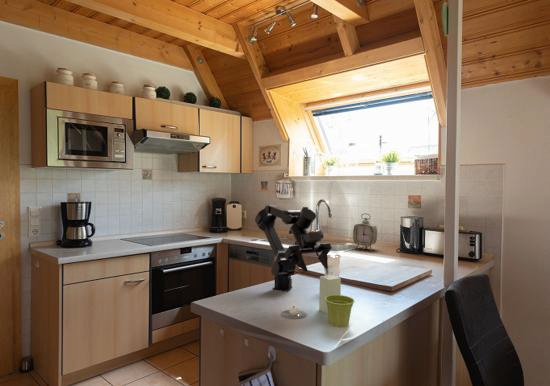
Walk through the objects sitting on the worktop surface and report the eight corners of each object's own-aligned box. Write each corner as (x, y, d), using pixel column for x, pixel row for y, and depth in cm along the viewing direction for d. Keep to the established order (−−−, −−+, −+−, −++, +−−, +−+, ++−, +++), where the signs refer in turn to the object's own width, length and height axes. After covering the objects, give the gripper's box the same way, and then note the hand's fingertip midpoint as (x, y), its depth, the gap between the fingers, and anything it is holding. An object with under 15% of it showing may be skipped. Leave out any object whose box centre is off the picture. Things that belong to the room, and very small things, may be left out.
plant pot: (351, 320, 127) (351, 295, 126) (356, 332, 117) (356, 304, 117) (323, 319, 127) (323, 294, 127) (325, 331, 118) (326, 303, 117)
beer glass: (327, 287, 167) (328, 253, 166) (342, 289, 163) (343, 255, 163) (320, 290, 161) (321, 255, 160) (336, 293, 157) (337, 257, 157)
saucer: (276, 318, 127) (276, 316, 127) (287, 310, 135) (287, 308, 135) (300, 323, 123) (300, 321, 123) (310, 315, 131) (310, 312, 131)
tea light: (287, 314, 129) (288, 306, 129) (291, 312, 131) (291, 304, 131) (295, 316, 127) (296, 308, 127) (299, 313, 130) (299, 305, 130)
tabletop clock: (352, 248, 263) (353, 213, 262) (358, 247, 270) (359, 212, 270) (372, 251, 254) (373, 214, 254) (377, 249, 262) (378, 213, 261)
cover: (319, 310, 134) (319, 276, 134) (330, 308, 137) (331, 274, 137) (327, 315, 130) (328, 279, 130) (339, 313, 132) (340, 278, 132)
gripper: (288, 224, 140) (304, 259, 130) (329, 222, 149) (347, 255, 139) (278, 242, 147) (292, 277, 138) (317, 239, 156) (333, 272, 147)
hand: (317, 270), depth 140 cm, fingers open, 9 cm apart
